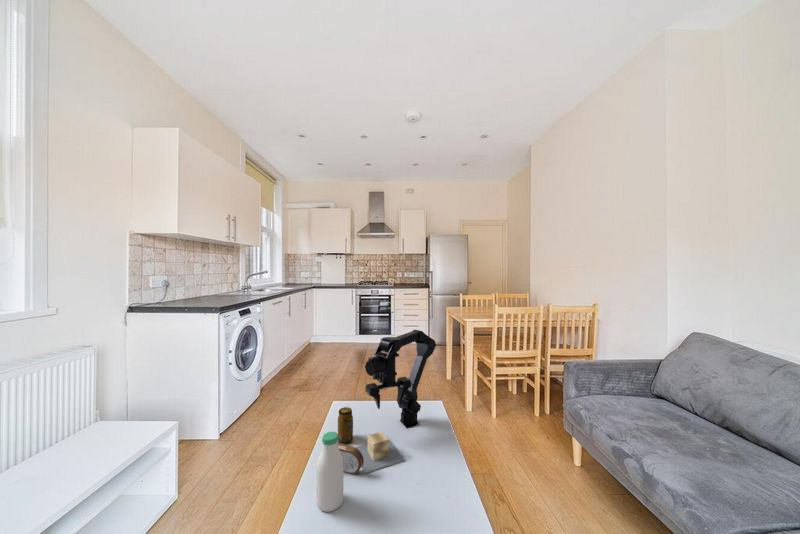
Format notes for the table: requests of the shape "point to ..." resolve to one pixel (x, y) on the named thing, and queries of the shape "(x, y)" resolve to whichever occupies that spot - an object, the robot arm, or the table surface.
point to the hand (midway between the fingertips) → (388, 406)
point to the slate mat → (380, 463)
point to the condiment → (346, 427)
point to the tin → (351, 458)
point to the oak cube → (378, 446)
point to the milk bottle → (330, 474)
